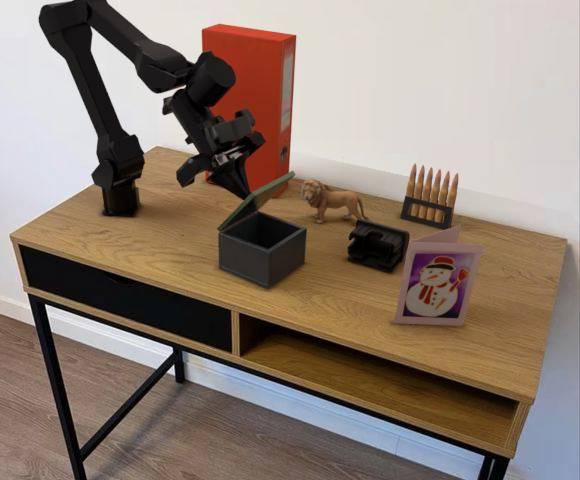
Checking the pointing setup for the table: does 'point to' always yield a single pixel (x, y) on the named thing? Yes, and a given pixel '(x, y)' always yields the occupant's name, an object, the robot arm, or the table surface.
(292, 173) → the lid
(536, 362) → the table surface
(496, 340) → the table surface
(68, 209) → the table surface
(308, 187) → the lion figurine
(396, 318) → the greeting card
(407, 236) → the end cap
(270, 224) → the bin
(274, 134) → the file binder
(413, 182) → the ammunition clip
